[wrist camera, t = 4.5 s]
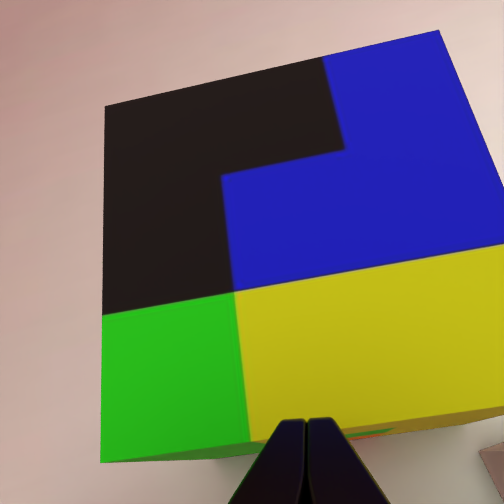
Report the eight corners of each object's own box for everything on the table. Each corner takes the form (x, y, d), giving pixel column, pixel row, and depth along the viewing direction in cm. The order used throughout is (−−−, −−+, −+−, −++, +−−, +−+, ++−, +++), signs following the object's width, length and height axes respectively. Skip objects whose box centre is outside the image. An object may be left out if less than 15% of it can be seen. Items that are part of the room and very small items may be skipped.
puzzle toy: (399, 202, 22) (438, 29, 13) (464, 424, 18) (588, 393, 9) (196, 241, 23) (104, 106, 14) (214, 458, 19) (100, 462, 10)
